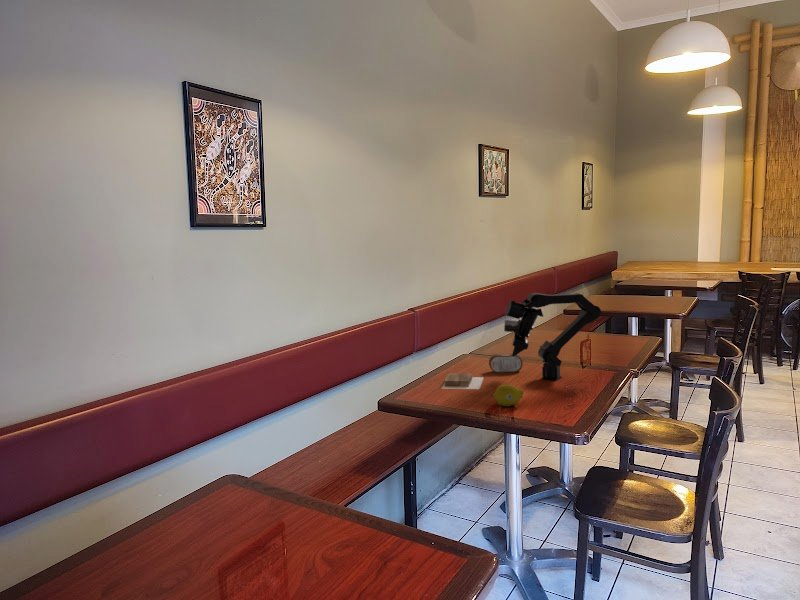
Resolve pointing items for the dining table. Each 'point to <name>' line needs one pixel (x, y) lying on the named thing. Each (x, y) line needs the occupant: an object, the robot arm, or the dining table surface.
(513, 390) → the lemon
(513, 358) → the tin
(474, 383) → the mat
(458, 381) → the board
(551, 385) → the dining table surface
